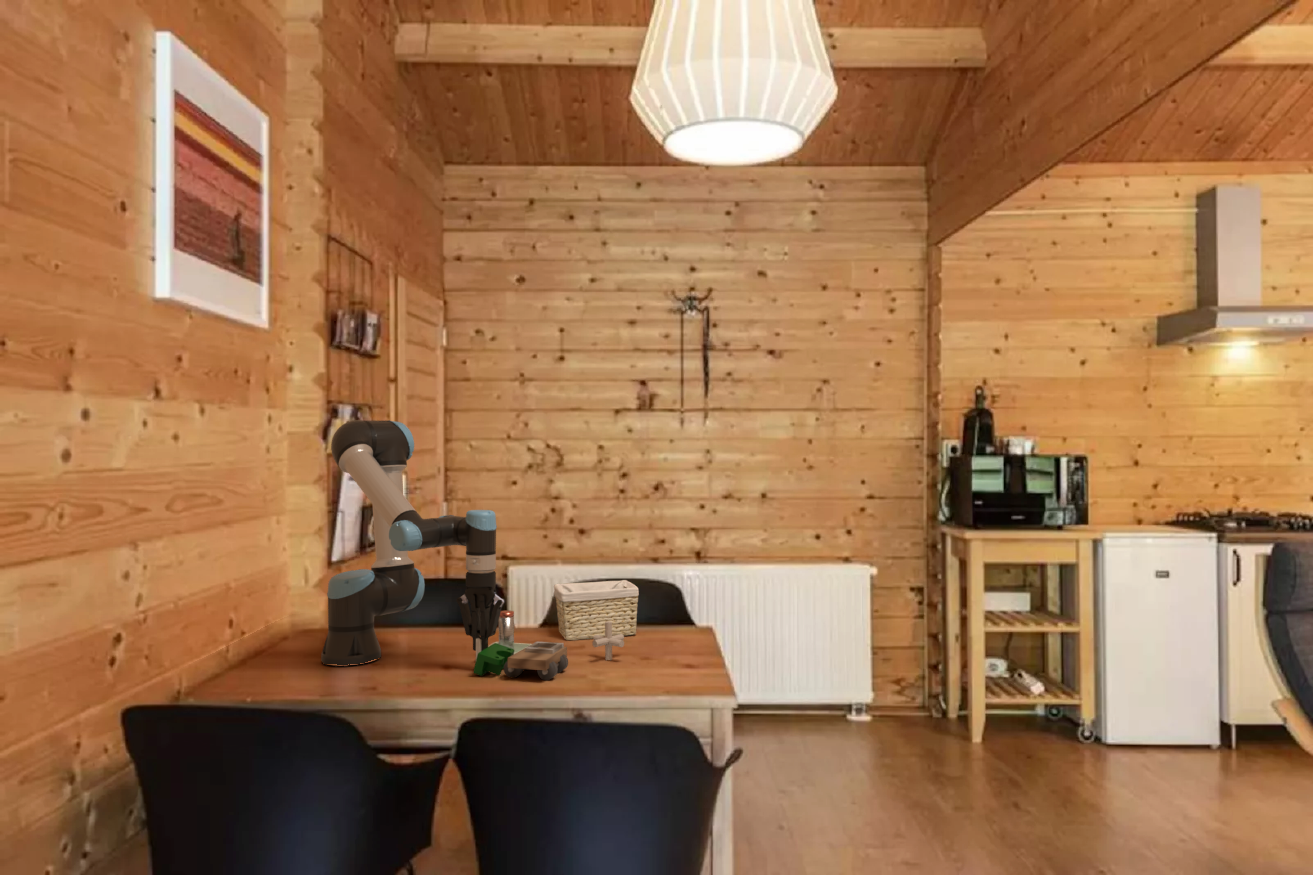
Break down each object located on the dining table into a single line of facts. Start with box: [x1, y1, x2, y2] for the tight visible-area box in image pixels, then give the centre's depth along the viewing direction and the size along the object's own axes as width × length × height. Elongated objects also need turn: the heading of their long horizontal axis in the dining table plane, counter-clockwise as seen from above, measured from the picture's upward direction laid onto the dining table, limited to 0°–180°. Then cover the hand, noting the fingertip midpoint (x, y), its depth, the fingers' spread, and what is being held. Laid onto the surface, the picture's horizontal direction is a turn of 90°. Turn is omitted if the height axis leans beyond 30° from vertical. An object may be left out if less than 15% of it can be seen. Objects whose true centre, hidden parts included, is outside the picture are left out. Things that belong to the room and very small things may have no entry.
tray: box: [488, 641, 533, 654], centre depth 231 cm, size 12×12×3 cm
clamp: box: [473, 642, 515, 677], centre depth 218 cm, size 12×6×9 cm, turn 163°
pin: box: [498, 610, 515, 649], centre depth 231 cm, size 4×4×12 cm
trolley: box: [503, 641, 569, 681], centre depth 215 cm, size 13×14×6 cm
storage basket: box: [553, 579, 640, 641], centre depth 261 cm, size 24×16×15 cm
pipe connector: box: [592, 621, 625, 661], centre depth 229 cm, size 10×10×10 cm
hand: (480, 663), depth 219 cm, fingers closed
